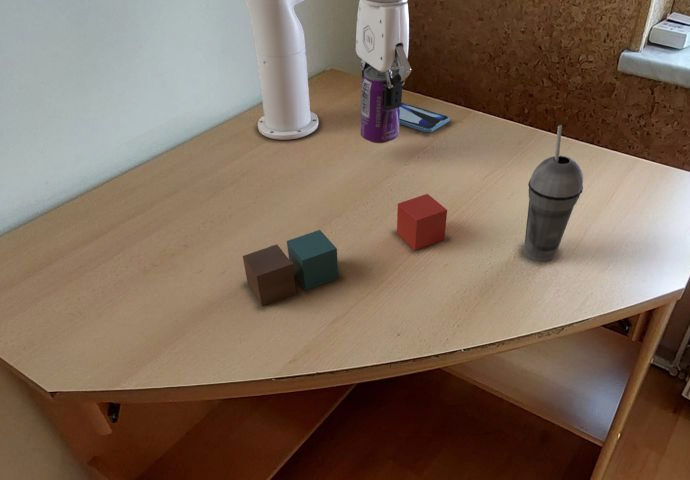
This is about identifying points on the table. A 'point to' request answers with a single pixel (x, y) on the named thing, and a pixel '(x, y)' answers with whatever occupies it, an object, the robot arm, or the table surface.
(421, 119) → the smartphone
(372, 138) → the beverage can
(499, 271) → the table surface
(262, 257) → the block
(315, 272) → the block
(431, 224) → the block
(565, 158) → the beverage cup
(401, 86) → the robot arm
